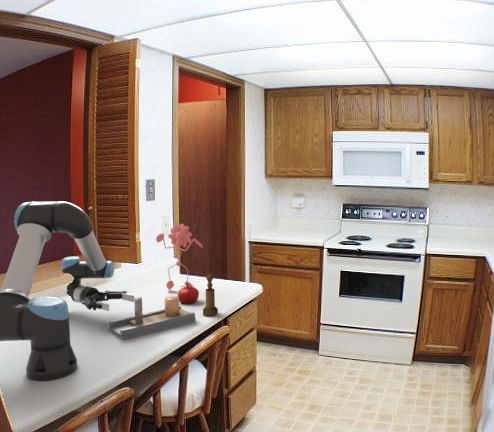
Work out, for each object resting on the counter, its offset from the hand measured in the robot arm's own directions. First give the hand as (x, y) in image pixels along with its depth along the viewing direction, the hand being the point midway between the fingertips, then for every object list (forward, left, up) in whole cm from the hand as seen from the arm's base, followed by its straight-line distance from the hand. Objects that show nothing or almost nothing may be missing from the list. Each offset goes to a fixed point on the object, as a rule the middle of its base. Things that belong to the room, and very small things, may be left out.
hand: (121, 302), depth 191 cm
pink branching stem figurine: (+45, +30, -9) cm, 55 cm away
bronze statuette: (+35, -12, -9) cm, 38 cm away
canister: (+18, -9, -6) cm, 21 cm away
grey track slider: (+13, -9, -7) cm, 18 cm away
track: (+9, -9, -9) cm, 16 cm away
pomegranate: (+37, +10, -9) cm, 40 cm away
